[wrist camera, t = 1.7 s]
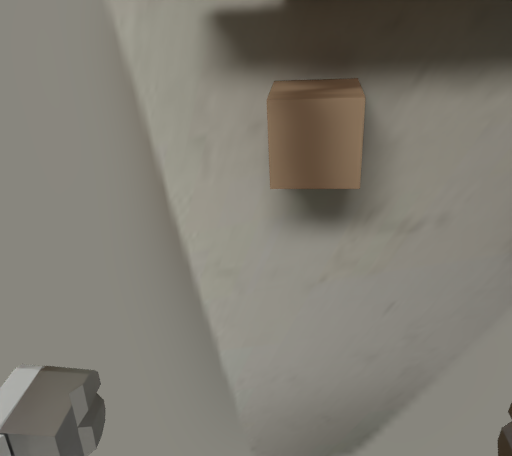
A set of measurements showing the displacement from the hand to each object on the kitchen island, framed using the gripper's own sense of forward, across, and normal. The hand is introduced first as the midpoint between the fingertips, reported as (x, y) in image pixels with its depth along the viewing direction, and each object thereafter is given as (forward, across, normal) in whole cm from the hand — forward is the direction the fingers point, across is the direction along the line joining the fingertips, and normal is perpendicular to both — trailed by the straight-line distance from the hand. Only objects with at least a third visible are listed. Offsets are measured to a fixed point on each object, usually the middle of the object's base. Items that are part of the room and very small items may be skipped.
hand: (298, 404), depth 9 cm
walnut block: (+22, -1, 0) cm, 22 cm away
